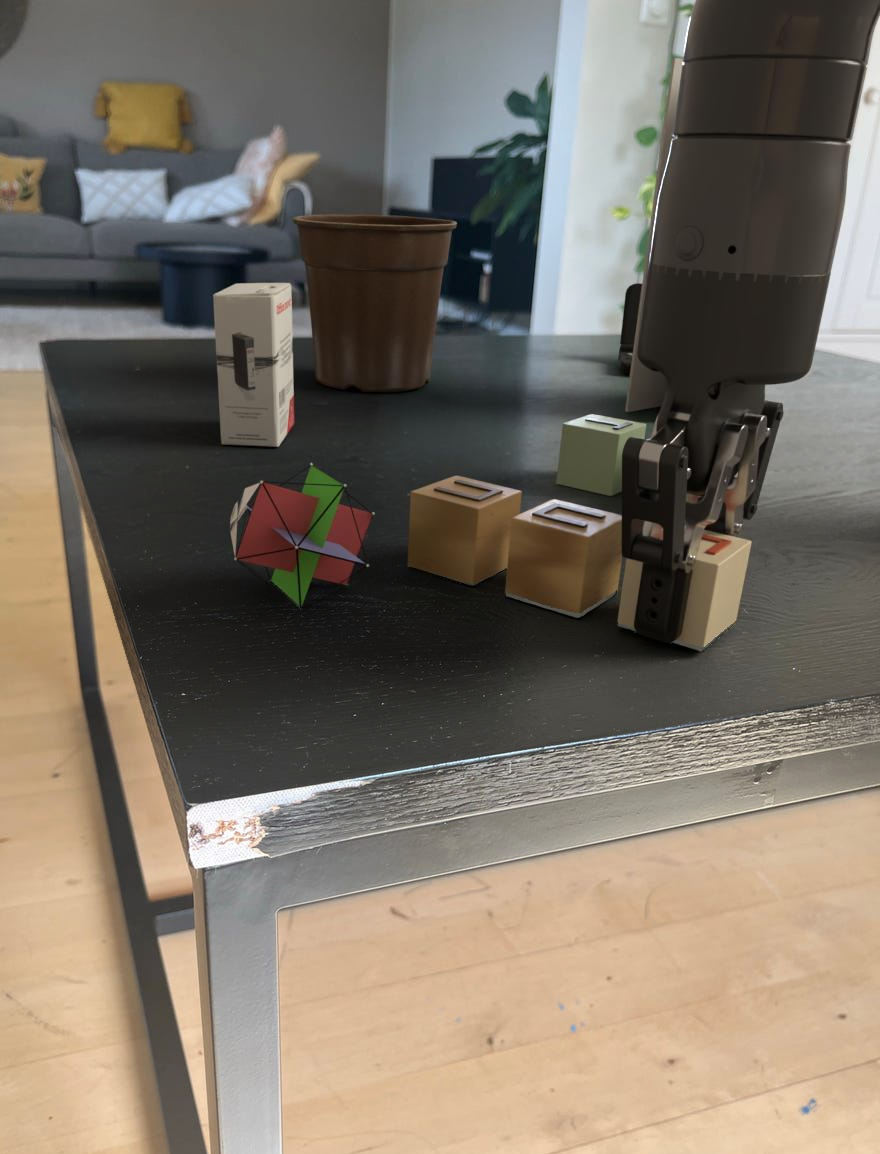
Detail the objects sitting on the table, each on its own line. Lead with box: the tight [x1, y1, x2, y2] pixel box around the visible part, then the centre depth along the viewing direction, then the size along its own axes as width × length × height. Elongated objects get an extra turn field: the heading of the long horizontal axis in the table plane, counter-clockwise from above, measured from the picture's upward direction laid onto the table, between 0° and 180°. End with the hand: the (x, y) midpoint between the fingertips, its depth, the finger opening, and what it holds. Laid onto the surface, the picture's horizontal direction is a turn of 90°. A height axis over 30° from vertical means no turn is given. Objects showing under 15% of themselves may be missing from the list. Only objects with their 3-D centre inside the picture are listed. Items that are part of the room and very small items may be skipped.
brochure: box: [624, 57, 683, 413], centre depth 92 cm, size 14×6×30 cm, turn 130°
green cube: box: [555, 413, 647, 497], centre depth 72 cm, size 4×4×5 cm
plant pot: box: [292, 214, 458, 394], centre depth 102 cm, size 16×16×16 cm
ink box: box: [212, 282, 295, 448], centre depth 80 cm, size 8×5×12 cm, turn 177°
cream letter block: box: [616, 524, 752, 647], centre depth 49 cm, size 4×4×5 cm
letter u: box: [504, 498, 623, 613], centre depth 52 cm, size 4×4×5 cm
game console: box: [617, 282, 642, 375], centre depth 117 cm, size 16×14×9 cm
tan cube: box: [407, 475, 523, 584], centre depth 56 cm, size 4×4×5 cm
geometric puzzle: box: [229, 462, 376, 609], centre depth 51 cm, size 7×7×8 cm
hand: (677, 619), depth 50 cm, fingers closed on cream letter block, 4 cm apart
